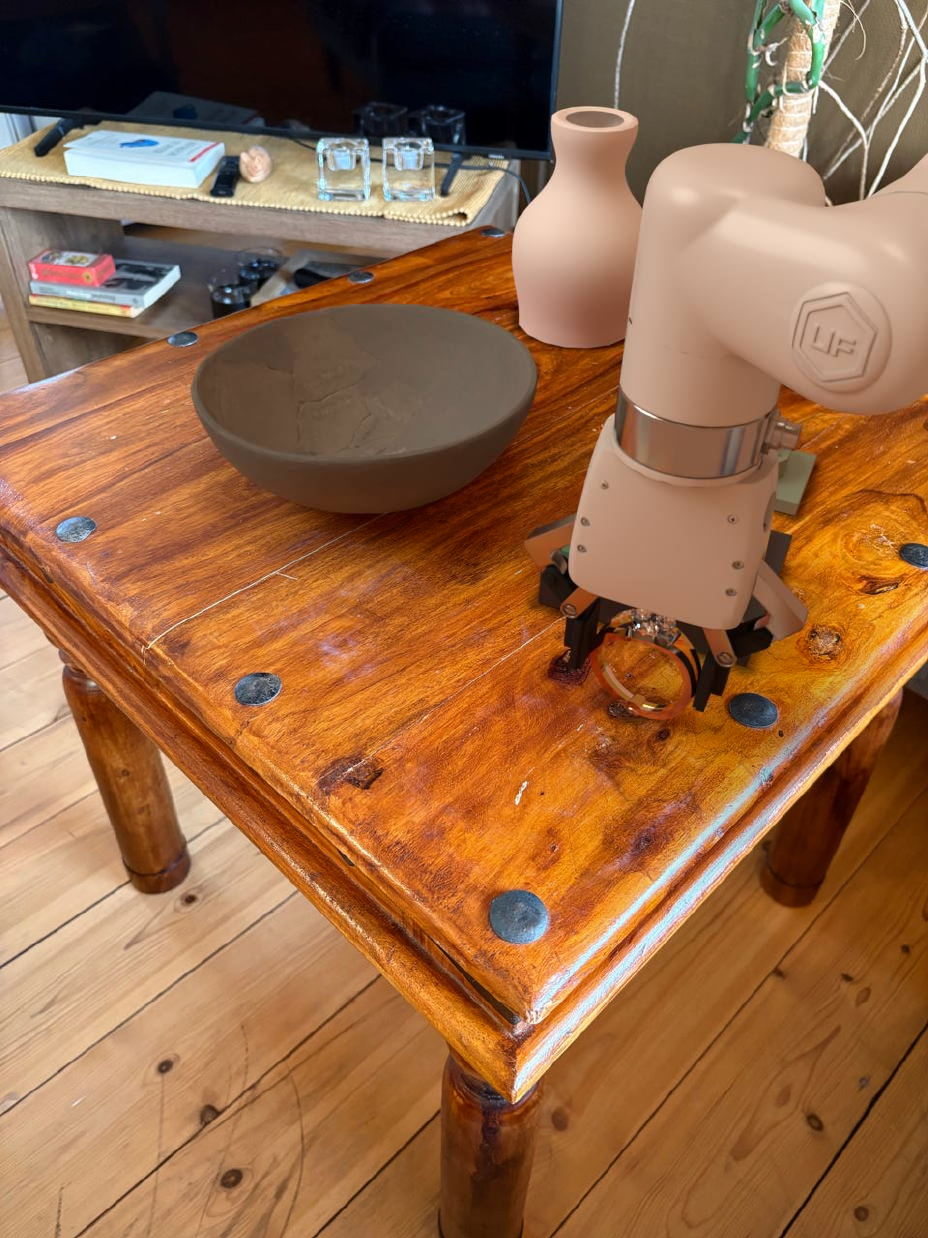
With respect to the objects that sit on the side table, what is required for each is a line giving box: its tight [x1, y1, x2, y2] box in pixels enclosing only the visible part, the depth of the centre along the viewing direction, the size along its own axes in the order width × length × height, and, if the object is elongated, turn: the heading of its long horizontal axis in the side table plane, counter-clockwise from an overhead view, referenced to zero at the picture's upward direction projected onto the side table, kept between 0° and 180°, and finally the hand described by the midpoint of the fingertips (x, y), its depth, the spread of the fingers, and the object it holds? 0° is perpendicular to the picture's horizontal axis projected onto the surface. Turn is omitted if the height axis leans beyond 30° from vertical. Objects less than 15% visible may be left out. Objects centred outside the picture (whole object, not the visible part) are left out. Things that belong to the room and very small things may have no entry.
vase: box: [511, 105, 643, 349], centre depth 98 cm, size 14×14×20 cm
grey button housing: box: [774, 448, 818, 517], centre depth 82 cm, size 10×8×3 cm
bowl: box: [190, 302, 538, 514], centre depth 79 cm, size 26×26×10 cm
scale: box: [537, 529, 793, 668], centre depth 71 cm, size 15×12×4 cm
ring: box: [588, 609, 702, 720], centre depth 60 cm, size 7×3×8 cm, turn 51°
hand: (641, 674), depth 61 cm, fingers closed on ring, 7 cm apart
